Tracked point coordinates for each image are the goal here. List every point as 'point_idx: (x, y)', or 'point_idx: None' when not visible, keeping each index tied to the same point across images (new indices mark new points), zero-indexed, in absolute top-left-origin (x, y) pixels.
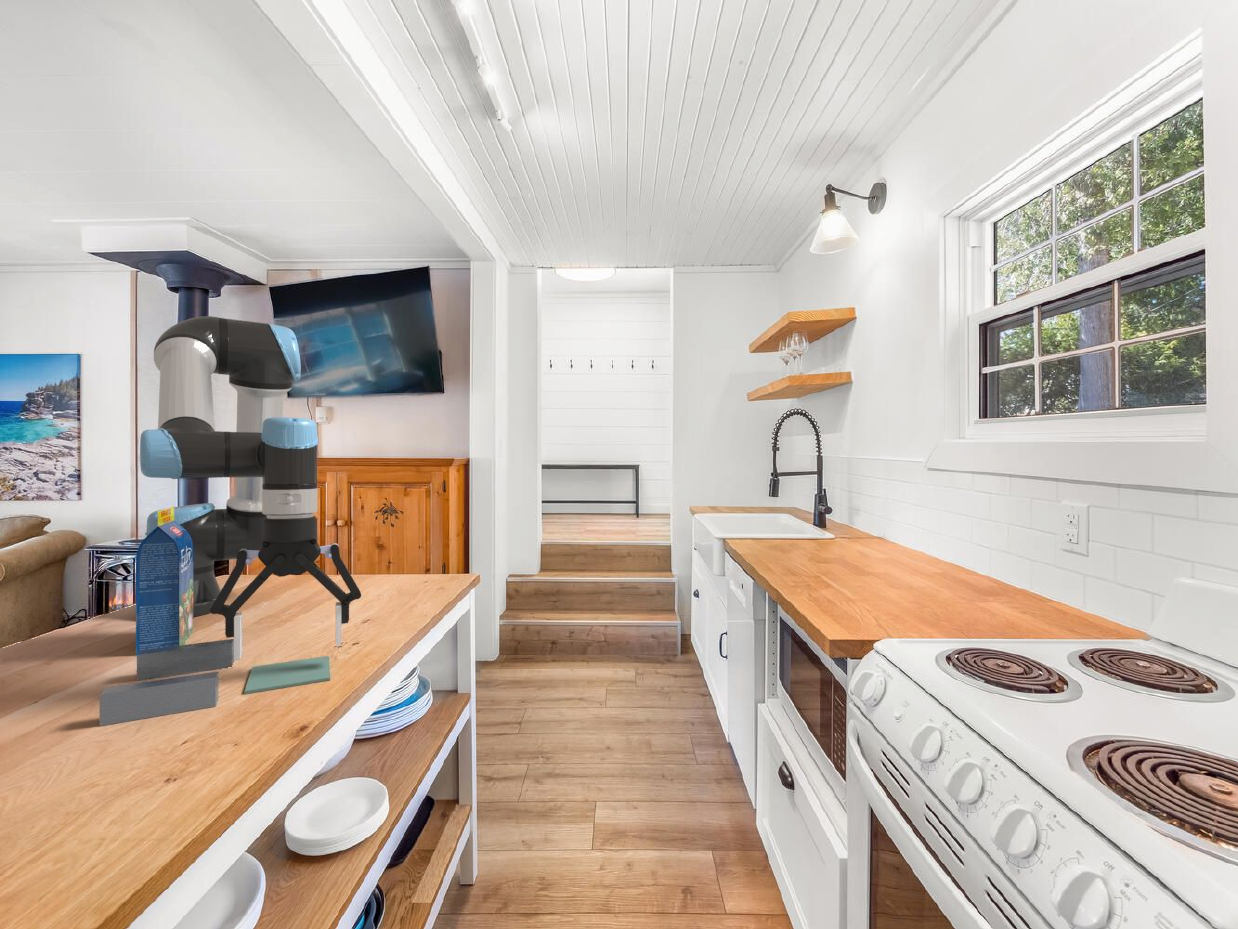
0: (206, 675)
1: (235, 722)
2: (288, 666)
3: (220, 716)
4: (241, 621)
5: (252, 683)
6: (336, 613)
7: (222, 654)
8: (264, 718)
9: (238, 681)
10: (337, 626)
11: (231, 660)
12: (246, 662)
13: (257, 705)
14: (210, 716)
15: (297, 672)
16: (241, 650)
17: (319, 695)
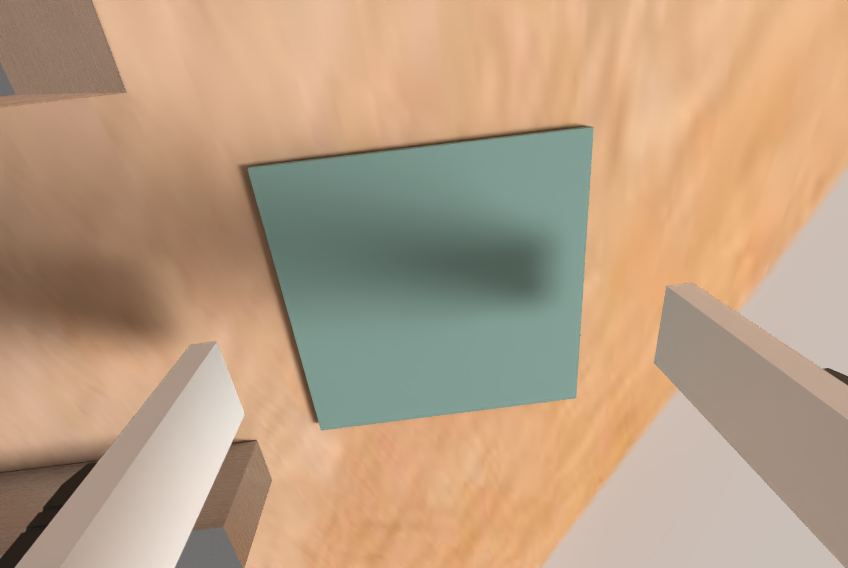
0: (199, 552)
1: (360, 560)
2: (418, 227)
3: (312, 529)
4: (121, 558)
5: (324, 375)
6: (805, 524)
7: (19, 99)
8: (420, 558)
9: (251, 301)
10: (734, 441)
11: (98, 91)
12: (165, 13)
13: (385, 497)
14: (286, 524)
15: (465, 316)
16: (215, 390)
17: (537, 482)
